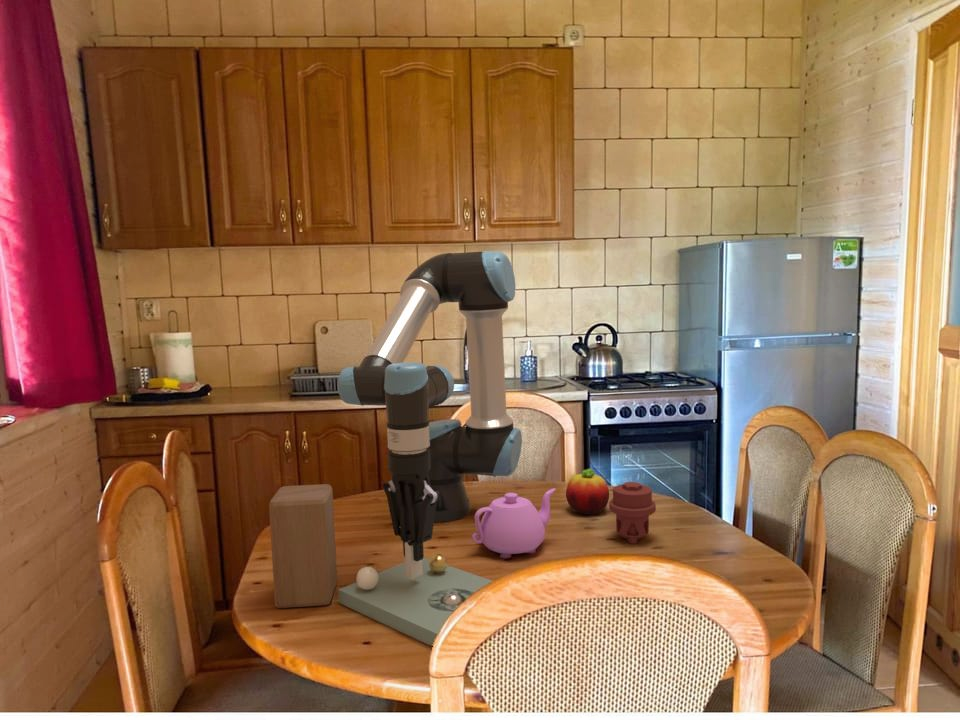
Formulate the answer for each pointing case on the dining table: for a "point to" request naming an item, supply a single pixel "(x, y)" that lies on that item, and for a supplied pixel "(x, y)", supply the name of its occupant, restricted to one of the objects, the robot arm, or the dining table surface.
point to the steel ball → (452, 599)
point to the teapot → (512, 524)
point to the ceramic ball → (367, 578)
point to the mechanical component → (632, 510)
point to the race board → (412, 598)
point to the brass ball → (438, 563)
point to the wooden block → (303, 545)
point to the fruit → (587, 493)
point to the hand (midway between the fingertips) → (414, 575)
